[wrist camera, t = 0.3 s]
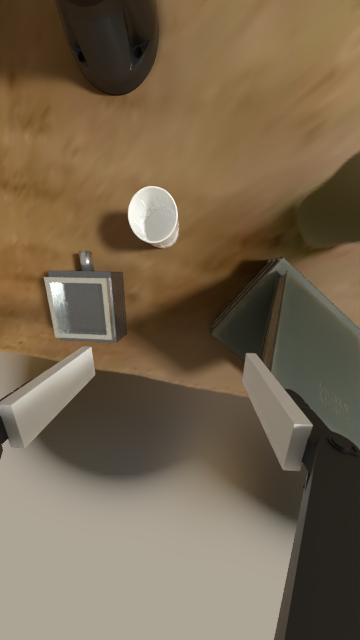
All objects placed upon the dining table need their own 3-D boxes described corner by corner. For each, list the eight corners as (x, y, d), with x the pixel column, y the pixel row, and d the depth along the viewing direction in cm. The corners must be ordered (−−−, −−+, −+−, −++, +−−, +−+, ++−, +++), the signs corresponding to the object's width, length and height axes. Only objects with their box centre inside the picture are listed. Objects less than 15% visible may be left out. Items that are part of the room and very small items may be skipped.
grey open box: (66, 253, 38) (36, 247, 31) (121, 253, 37) (104, 248, 30) (78, 331, 43) (55, 342, 36) (127, 333, 42) (113, 345, 35)
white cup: (150, 255, 37) (136, 248, 27) (140, 217, 35) (121, 194, 25) (185, 246, 36) (182, 235, 26) (176, 206, 34) (170, 178, 24)
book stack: (339, 325, 38) (587, 409, 14) (274, 380, 43) (378, 512, 19) (268, 259, 36) (427, 226, 12) (207, 325, 41) (231, 398, 16)
